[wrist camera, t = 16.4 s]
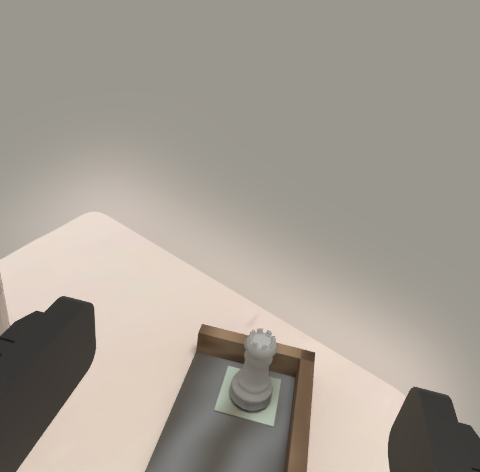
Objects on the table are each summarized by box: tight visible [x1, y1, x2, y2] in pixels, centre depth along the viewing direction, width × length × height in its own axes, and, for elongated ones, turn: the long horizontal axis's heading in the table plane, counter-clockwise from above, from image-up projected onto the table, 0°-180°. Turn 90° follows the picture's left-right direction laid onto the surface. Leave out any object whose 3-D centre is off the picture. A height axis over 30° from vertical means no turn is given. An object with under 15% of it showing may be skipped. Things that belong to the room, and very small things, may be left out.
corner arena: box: [145, 324, 315, 472], centre depth 41 cm, size 13×16×4 cm
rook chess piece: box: [229, 329, 278, 411], centre depth 41 cm, size 4×4×8 cm
